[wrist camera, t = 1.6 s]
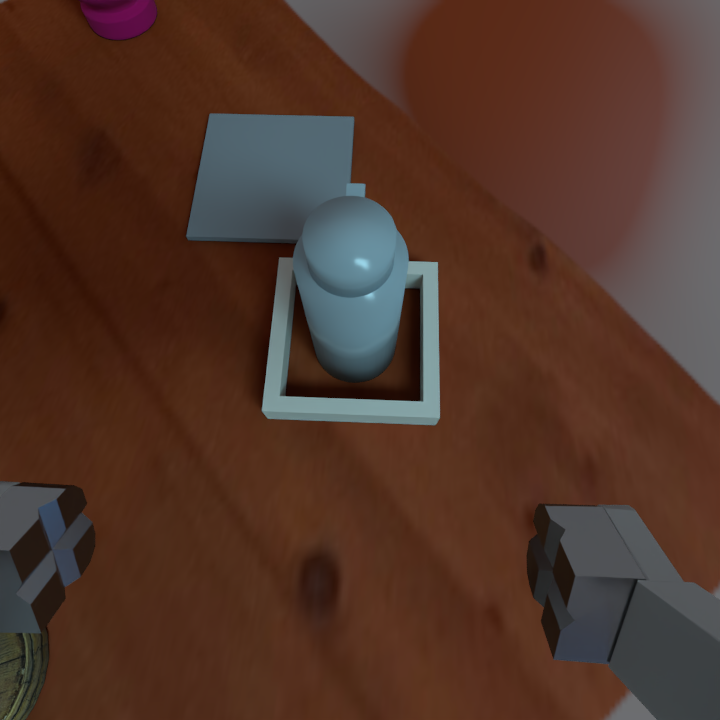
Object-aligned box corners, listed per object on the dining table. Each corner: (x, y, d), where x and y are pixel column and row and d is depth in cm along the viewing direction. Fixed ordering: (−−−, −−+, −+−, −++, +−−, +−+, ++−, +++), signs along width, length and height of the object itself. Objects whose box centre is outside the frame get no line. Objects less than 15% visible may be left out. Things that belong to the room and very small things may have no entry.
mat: (188, 240, 37) (186, 236, 37) (211, 118, 41) (209, 113, 41) (346, 244, 37) (346, 240, 36) (354, 121, 41) (353, 116, 40)
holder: (267, 418, 32) (261, 411, 30) (283, 272, 36) (279, 257, 34) (435, 425, 32) (440, 418, 30) (433, 276, 36) (437, 262, 34)
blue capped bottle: (311, 381, 33) (280, 288, 21) (320, 275, 36) (296, 139, 24) (394, 384, 33) (412, 292, 21) (396, 278, 36) (413, 142, 24)
